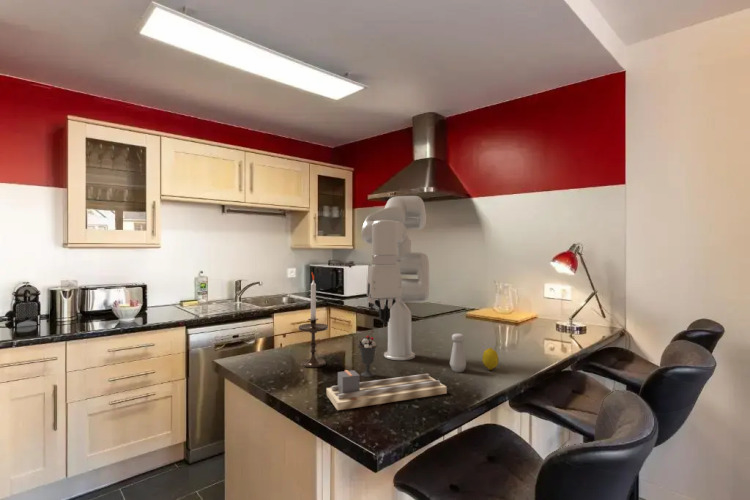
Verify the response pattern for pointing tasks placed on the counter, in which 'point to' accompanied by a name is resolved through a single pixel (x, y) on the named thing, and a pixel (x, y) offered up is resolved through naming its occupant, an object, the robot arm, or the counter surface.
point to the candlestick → (313, 331)
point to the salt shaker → (458, 354)
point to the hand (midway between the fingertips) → (384, 321)
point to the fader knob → (348, 381)
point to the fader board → (386, 391)
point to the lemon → (490, 358)
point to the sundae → (367, 354)
